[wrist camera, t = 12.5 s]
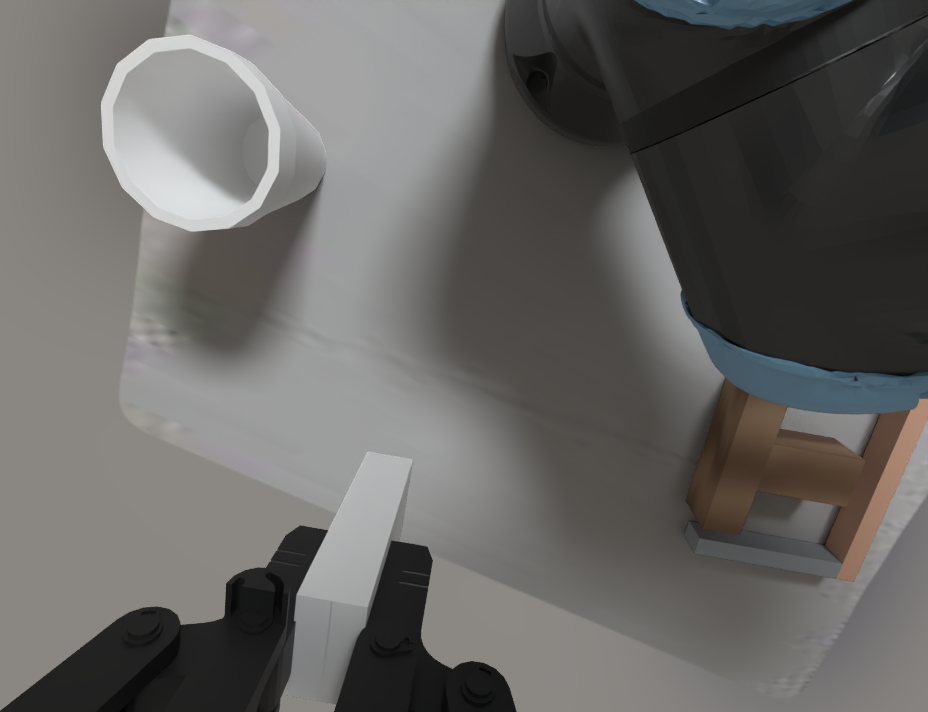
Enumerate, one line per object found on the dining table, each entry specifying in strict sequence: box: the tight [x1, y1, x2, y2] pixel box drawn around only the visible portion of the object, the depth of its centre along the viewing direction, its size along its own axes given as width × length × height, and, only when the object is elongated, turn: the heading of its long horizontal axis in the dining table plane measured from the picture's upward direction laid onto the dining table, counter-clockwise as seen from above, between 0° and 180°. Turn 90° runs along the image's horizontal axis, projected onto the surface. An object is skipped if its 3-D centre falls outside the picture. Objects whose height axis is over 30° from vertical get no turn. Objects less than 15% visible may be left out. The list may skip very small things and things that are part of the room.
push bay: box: [684, 399, 928, 582], centre depth 43 cm, size 19×14×2 cm
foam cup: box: [101, 35, 326, 232], centre depth 34 cm, size 10×9×13 cm
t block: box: [686, 379, 866, 535], centre depth 43 cm, size 12×10×4 cm
